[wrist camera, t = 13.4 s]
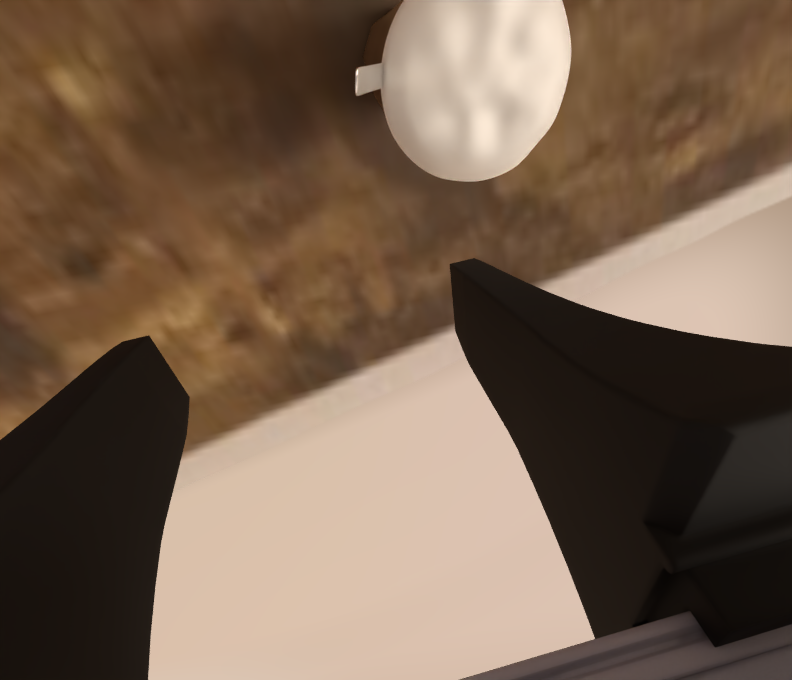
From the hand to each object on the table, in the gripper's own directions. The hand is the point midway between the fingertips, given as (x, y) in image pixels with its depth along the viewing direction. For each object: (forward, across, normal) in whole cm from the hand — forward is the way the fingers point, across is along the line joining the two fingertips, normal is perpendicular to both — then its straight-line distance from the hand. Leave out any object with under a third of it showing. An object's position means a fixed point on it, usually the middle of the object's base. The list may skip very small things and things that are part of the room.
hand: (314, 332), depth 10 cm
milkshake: (+11, -5, -4) cm, 12 cm away
